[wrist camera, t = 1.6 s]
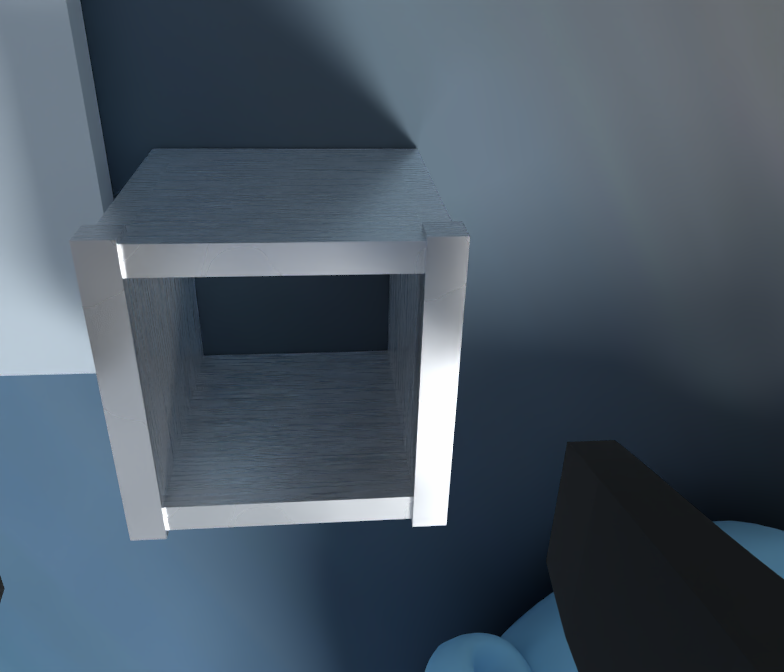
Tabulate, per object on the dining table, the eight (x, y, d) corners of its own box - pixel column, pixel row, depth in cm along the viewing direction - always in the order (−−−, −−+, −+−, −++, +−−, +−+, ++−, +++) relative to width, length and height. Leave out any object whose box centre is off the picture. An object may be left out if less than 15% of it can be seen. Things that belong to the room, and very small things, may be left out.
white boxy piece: (412, 371, 17) (446, 524, 13) (179, 378, 17) (130, 540, 12) (422, 143, 15) (470, 236, 10) (147, 143, 14) (68, 241, 10)
